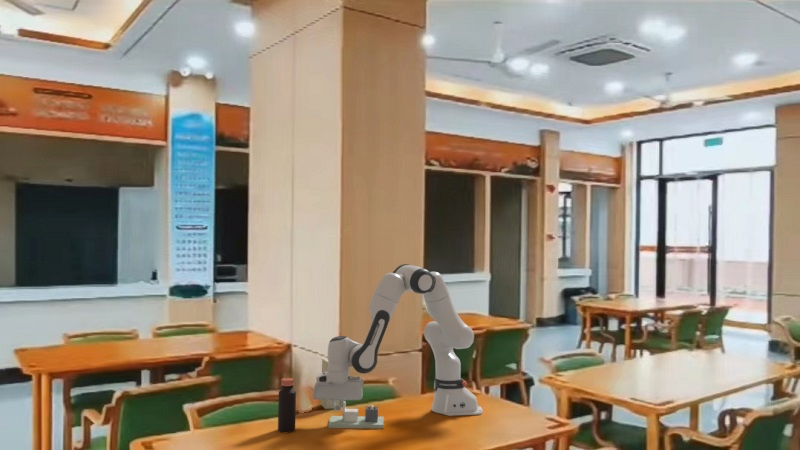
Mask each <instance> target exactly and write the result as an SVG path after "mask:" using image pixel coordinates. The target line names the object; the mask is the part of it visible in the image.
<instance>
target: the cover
mask: <svg viewBox="0 0 800 450" xmlns="http://www.w3.org/2000/svg"><path fill="white" fill-rule="evenodd" d="M346 401H347V400H344V403H343V404H342V416H343V422H357V419H358V416H359V408H347V407H346V406H347V403H346Z"/></svg>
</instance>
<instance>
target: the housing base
mask: <svg viewBox="0 0 800 450" xmlns="http://www.w3.org/2000/svg"><path fill="white" fill-rule="evenodd" d="M369 407H370V409H373V407H374V405H372V404H371V405H369ZM384 423H385V416H378V422H365V416H363V415H362V416H359V415H358V419H357V422H343V415H330V418H329V422H328V427H327V428H328V429H374V430H375V429H380V430H381V429H384Z"/></svg>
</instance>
